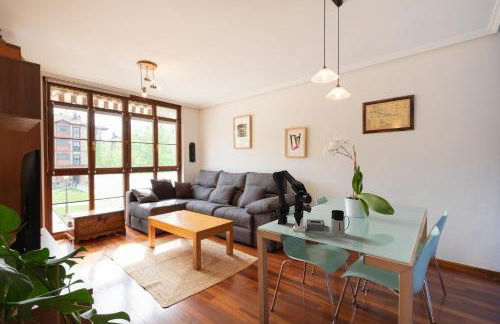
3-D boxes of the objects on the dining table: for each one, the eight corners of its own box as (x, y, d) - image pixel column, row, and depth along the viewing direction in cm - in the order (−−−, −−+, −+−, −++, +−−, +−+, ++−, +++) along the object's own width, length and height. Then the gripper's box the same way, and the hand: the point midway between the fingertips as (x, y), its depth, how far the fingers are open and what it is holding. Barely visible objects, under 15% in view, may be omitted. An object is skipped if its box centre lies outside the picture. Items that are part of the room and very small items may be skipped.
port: (306, 229, 161) (306, 223, 161) (306, 224, 173) (306, 218, 173) (325, 230, 159) (324, 223, 158) (323, 225, 170) (323, 219, 170)
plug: (295, 230, 160) (295, 217, 159) (295, 229, 163) (295, 216, 163) (303, 231, 158) (302, 218, 158) (303, 229, 162) (302, 216, 162)
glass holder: (338, 231, 156) (338, 209, 156) (355, 238, 143) (354, 213, 142) (327, 233, 153) (327, 210, 153) (343, 240, 140) (343, 215, 139)
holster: (293, 231, 158) (292, 228, 158) (293, 228, 165) (293, 225, 165) (305, 232, 156) (305, 229, 156) (305, 229, 163) (305, 226, 163)
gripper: (311, 204, 149) (311, 228, 150) (310, 199, 167) (311, 221, 168) (293, 204, 152) (293, 228, 152) (294, 198, 170) (295, 220, 170)
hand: (299, 224), depth 161 cm, fingers open, 9 cm apart
